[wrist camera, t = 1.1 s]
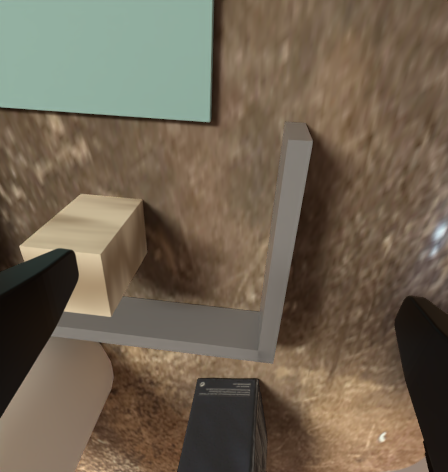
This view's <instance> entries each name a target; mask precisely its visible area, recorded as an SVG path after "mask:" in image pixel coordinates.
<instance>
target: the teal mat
mask: <svg viewBox="0 0 448 472" xmlns="http://www.w3.org/2000/svg"><path fill="white" fill-rule="evenodd" d="M213 25H214V0H0V107H5V108H19V109H33V110H47V111H61V112H75V113H89V114H103V115H117V116H131V117H145V118H159V119H173V120H186V121H200V122H210V121H211V109H212V67H213Z"/></svg>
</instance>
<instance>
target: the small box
mask: <svg viewBox="0 0 448 472" xmlns="http://www.w3.org/2000/svg"><path fill="white" fill-rule="evenodd" d="M266 456H267V432H266V426H265V419H264V411H263V404H262V397H261V392H260V386H259V380H258V379H215V378H213V379H210V378H206V379H198V380H197V384H196V389H195V394H194V398H193V403H192V408H191V412H190V417H189V421H188V426H187V430H186V435H185V439H184V444H183V448H182V453H181V457H180V462H179V466H178V470H177V472H266Z"/></svg>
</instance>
